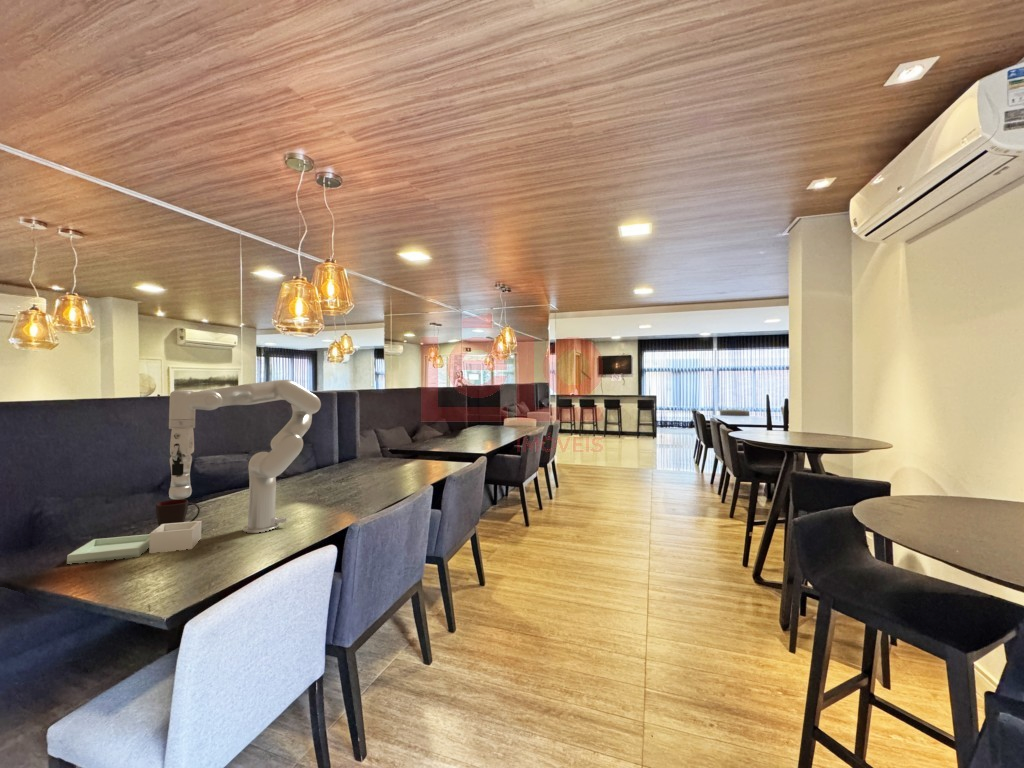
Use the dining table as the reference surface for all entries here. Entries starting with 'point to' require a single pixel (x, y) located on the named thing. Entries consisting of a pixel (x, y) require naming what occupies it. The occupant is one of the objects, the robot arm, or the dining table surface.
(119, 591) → the dining table surface
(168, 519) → the mug
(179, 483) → the plastic bottle
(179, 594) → the dining table surface
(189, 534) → the white storage bin
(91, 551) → the tray
